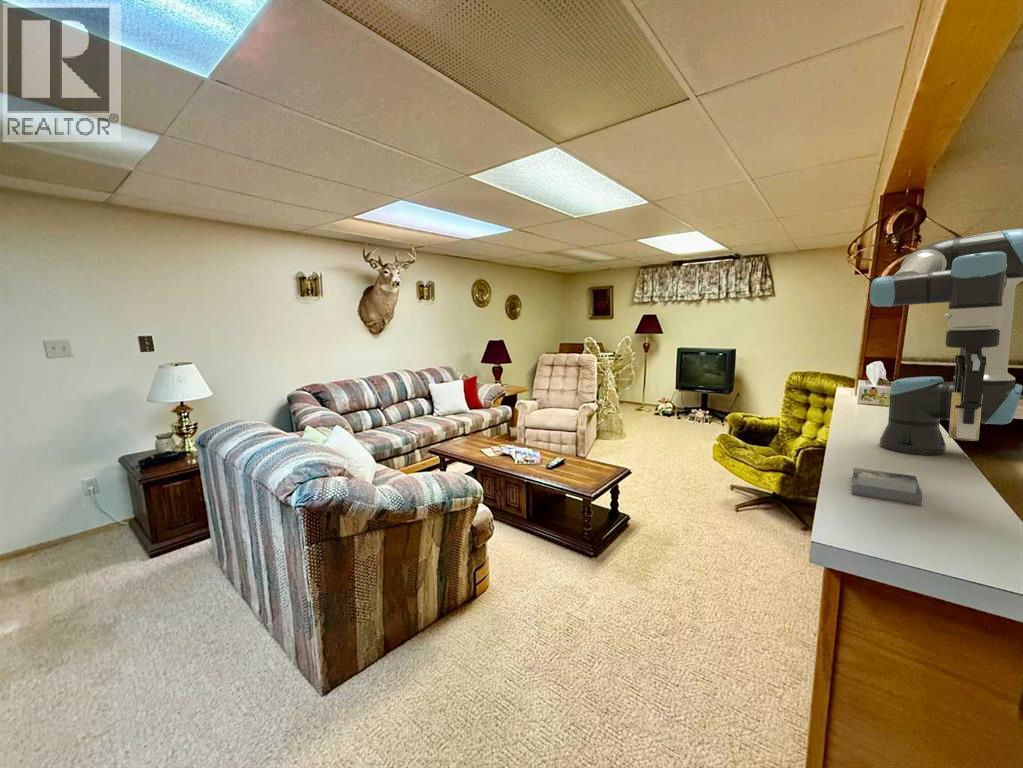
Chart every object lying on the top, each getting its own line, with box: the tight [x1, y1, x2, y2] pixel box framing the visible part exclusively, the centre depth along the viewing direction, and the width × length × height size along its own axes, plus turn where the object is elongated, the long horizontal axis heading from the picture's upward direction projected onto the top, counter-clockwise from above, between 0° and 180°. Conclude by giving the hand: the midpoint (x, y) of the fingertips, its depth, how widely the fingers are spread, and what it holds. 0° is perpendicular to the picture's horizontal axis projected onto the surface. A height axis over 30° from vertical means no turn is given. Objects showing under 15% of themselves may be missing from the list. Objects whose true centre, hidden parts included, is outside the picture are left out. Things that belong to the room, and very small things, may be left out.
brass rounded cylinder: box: [948, 392, 983, 442], centre depth 87 cm, size 4×4×10 cm
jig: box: [851, 467, 923, 506], centre depth 100 cm, size 14×12×5 cm
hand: (963, 435), depth 88 cm, fingers closed on brass rounded cylinder, 4 cm apart
